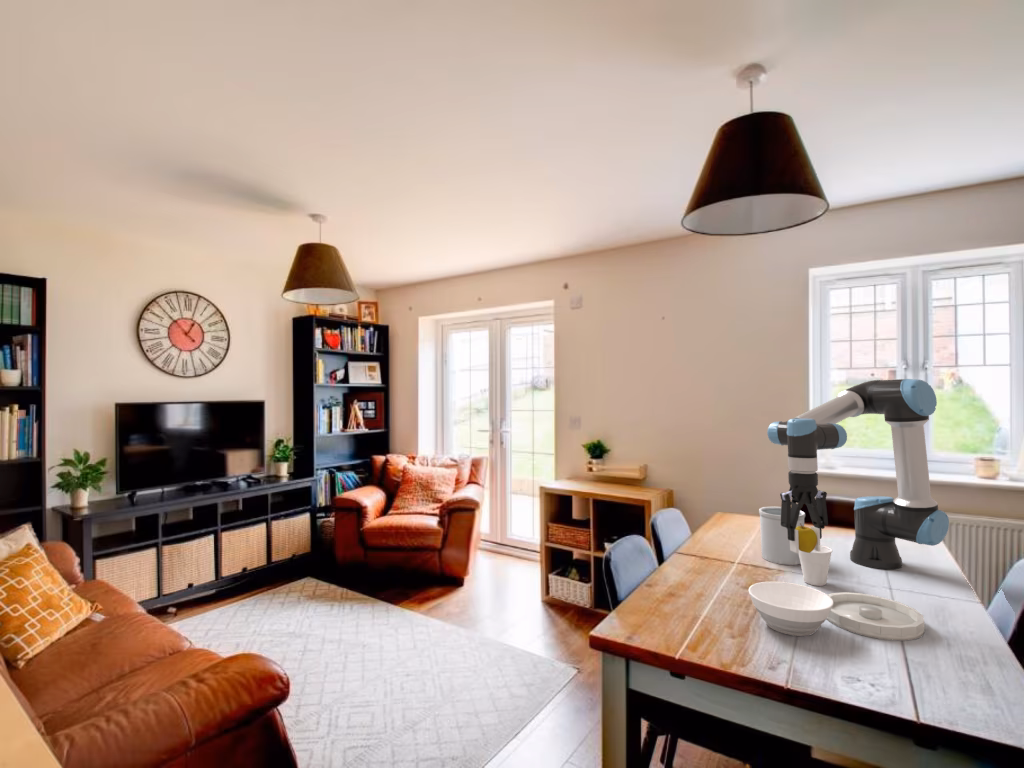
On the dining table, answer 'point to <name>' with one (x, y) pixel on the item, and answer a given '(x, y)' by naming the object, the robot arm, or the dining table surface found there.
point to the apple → (806, 539)
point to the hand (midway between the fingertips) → (805, 550)
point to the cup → (815, 565)
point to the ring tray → (880, 629)
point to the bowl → (791, 607)
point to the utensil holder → (777, 537)
